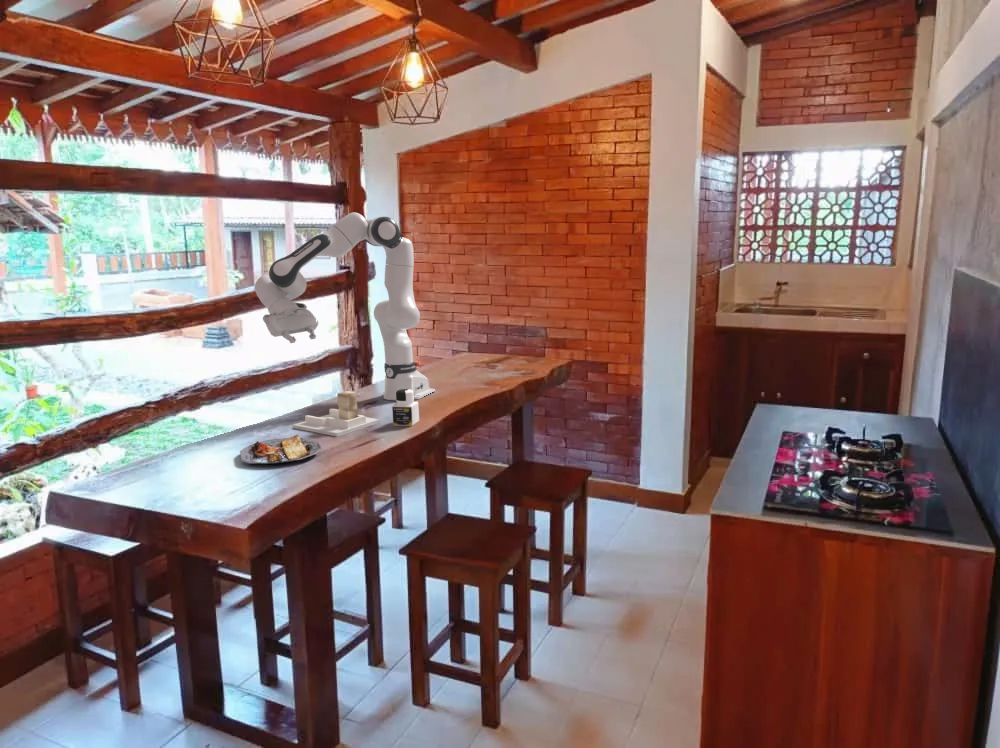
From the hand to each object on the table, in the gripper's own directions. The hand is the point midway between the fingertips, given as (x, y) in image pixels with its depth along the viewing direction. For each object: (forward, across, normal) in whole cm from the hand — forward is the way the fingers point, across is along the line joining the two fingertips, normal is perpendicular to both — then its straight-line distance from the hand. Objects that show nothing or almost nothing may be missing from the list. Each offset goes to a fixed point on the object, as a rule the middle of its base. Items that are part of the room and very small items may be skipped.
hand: (303, 339), depth 268 cm
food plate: (+42, -39, -2) cm, 57 cm away
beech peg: (+38, -6, 0) cm, 38 cm away
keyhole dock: (+34, -6, +6) cm, 35 cm away
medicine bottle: (+49, +8, -8) cm, 50 cm away
